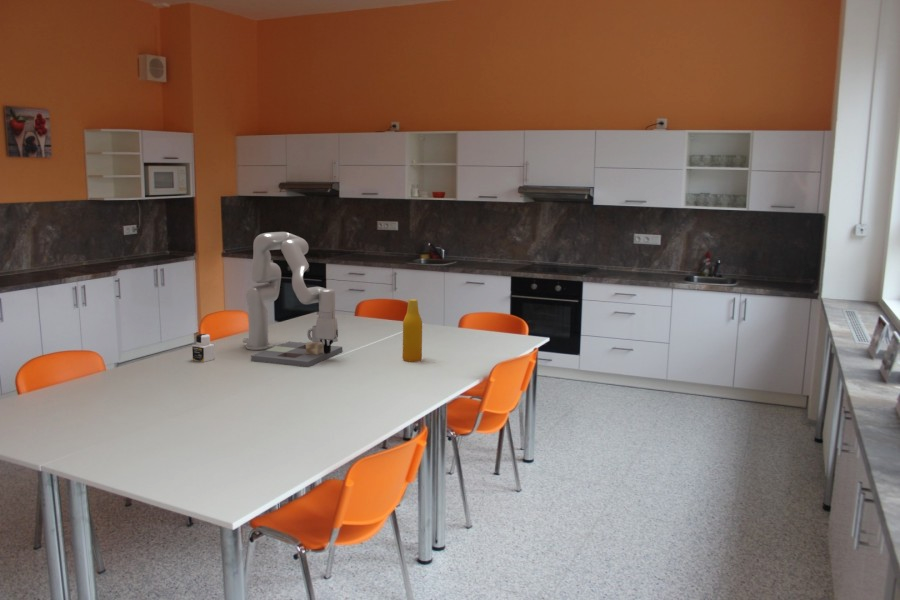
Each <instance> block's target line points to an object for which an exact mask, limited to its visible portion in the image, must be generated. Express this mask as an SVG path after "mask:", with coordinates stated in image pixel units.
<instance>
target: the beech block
mask: <svg viewBox="0 0 900 600" xmlns="http://www.w3.org/2000/svg"><path fill="white" fill-rule="evenodd" d="M307 343H308V342H307ZM322 352H323V344H322V343H320V342H312V341H310V342H309V343H308V344H306V354H316V355H318V354H320V353H322Z"/></svg>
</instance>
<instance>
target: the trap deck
mask: <svg viewBox="0 0 900 600" xmlns="http://www.w3.org/2000/svg"><path fill="white" fill-rule="evenodd" d="M306 344H308V342H297V341H287V342H286V341H285V343H281V344H279V345H275V346H272V347H271V348H269V349H265V350H261V351H259V352H257V353H255V354H252V355H250V361H252V362H259V363H267V364H268V363H269V364H276V365H284V366H285V365H287V366H293V367H294V366H296V367H303V368H304V367H305V368H309V367H312V366H313V365H317V364H318V363H321V362H323V361H325V360H327V359H330V358H332V357H333V356H336V355H338V354H341V353H342V352H343V346H338V345H331V351H330V353H328V354H324V345H323V352H322V353H320V354H318V355H316V354H306Z"/></svg>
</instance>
